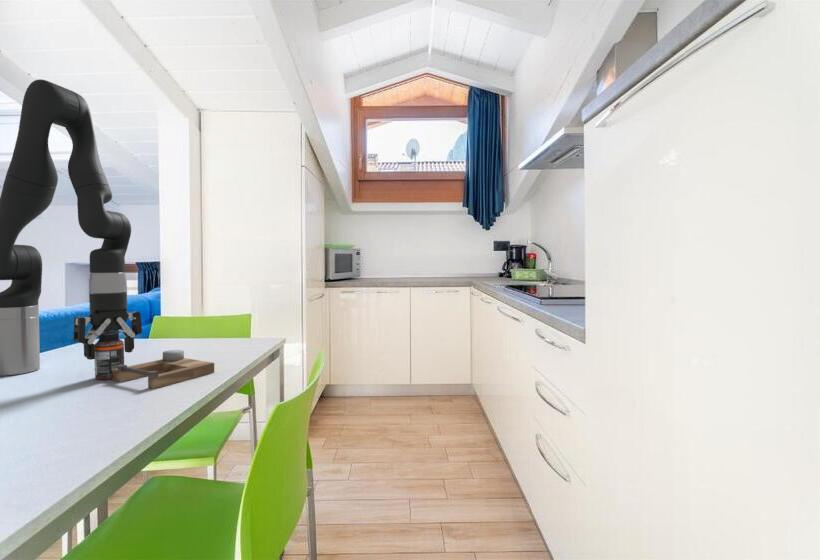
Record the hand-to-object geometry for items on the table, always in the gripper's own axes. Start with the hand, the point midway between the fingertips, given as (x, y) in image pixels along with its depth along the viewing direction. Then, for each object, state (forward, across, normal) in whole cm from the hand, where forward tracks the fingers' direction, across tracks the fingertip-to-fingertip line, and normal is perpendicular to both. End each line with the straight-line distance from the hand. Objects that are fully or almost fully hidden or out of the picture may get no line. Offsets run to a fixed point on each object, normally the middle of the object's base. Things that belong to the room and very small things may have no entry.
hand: (110, 355), depth 100 cm
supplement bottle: (+6, 0, 0) cm, 6 cm away
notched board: (+6, -7, +11) cm, 14 cm away
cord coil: (+3, -12, +6) cm, 14 cm away
